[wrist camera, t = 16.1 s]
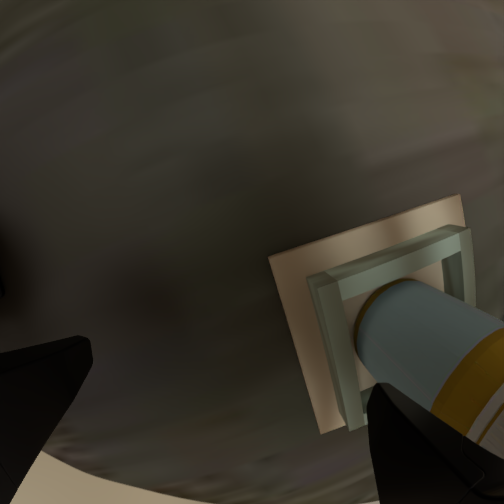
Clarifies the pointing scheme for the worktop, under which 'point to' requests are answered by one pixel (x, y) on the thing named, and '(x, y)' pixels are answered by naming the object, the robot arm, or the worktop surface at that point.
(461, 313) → the bottle
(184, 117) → the worktop surface
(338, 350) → the square rimmed tray
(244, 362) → the worktop surface
